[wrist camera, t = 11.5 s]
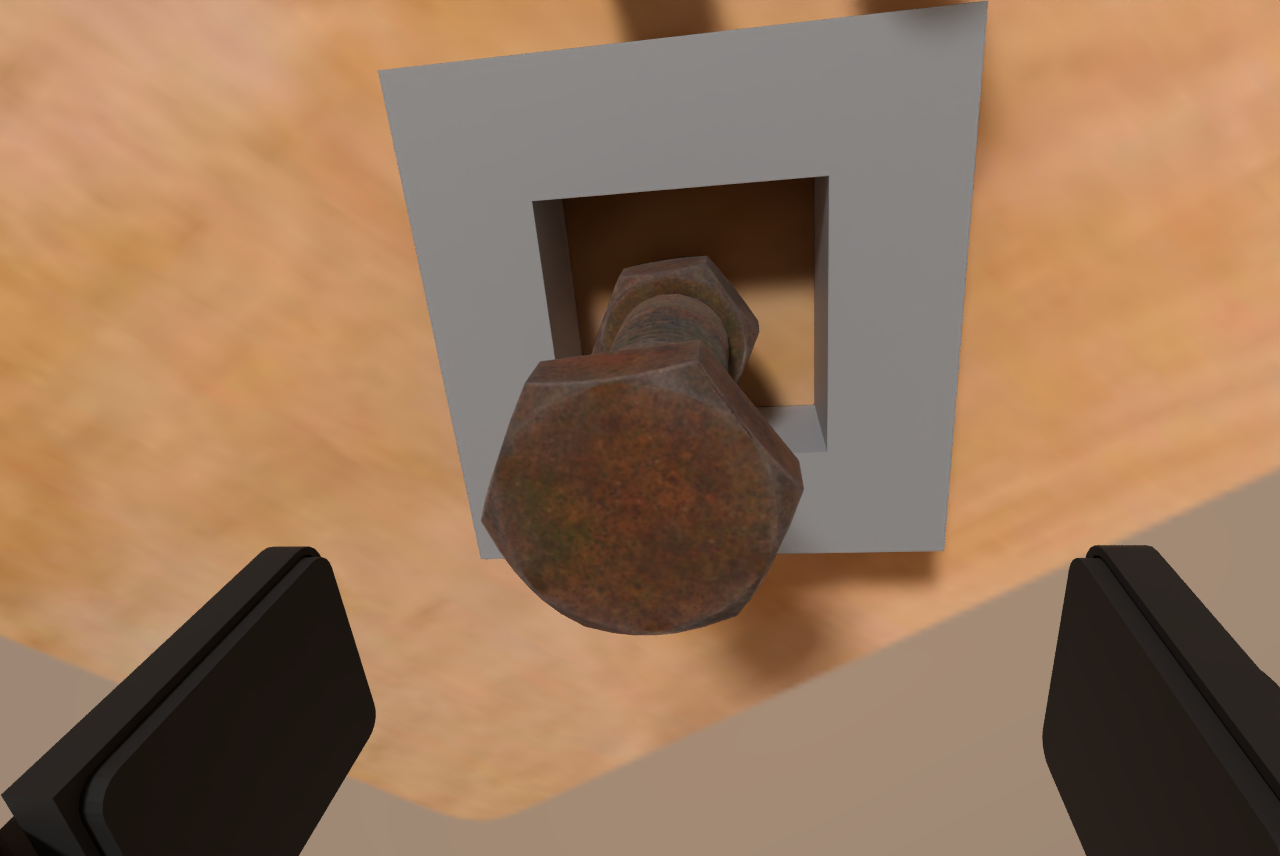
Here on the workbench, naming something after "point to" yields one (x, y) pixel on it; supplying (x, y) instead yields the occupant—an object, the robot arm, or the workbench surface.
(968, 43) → the frame
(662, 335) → the bolt
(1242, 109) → the workbench surface
